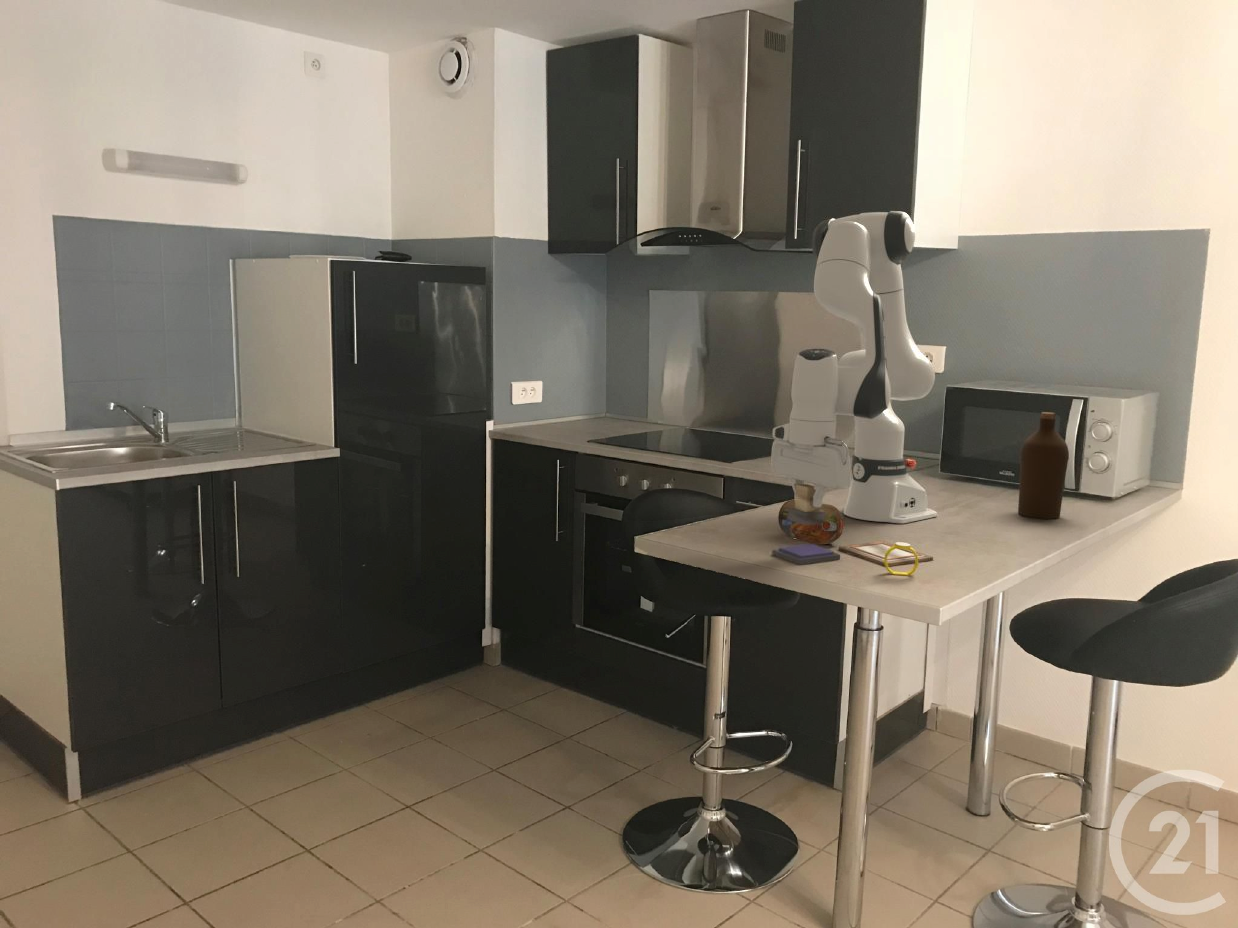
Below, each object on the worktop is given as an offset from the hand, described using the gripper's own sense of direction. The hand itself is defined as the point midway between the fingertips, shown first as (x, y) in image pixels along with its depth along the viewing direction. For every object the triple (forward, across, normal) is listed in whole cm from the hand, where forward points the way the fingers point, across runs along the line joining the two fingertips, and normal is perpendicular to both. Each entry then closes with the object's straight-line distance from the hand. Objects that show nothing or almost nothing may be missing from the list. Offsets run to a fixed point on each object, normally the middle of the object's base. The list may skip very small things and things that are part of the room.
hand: (807, 504), depth 191 cm
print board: (+10, -5, -16) cm, 20 cm away
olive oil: (+10, +9, -79) cm, 80 cm away
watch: (+11, -17, -9) cm, 22 cm away
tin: (+11, +11, -10) cm, 19 cm away
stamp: (+3, 0, 0) cm, 3 cm away
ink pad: (+11, 0, 0) cm, 11 cm away
